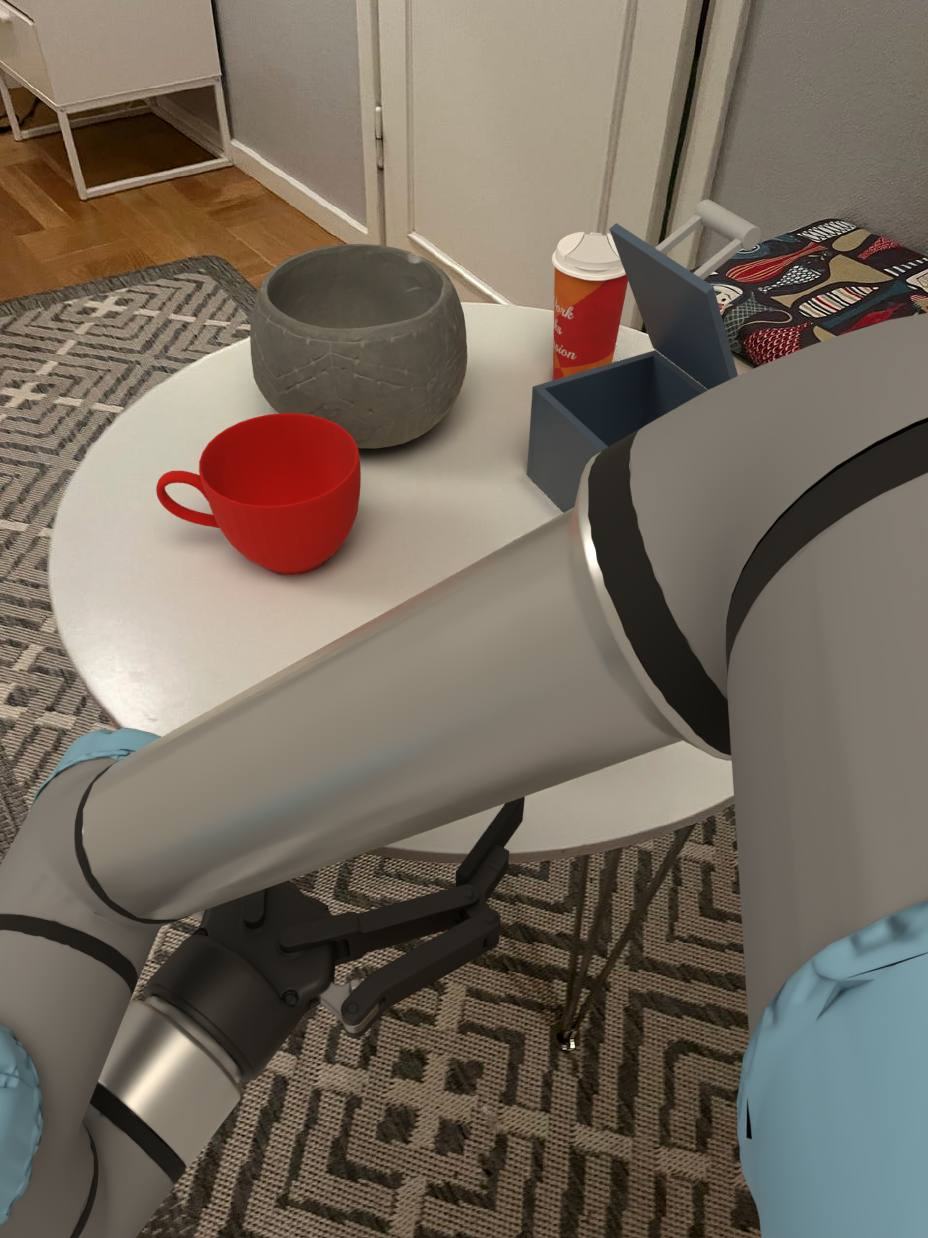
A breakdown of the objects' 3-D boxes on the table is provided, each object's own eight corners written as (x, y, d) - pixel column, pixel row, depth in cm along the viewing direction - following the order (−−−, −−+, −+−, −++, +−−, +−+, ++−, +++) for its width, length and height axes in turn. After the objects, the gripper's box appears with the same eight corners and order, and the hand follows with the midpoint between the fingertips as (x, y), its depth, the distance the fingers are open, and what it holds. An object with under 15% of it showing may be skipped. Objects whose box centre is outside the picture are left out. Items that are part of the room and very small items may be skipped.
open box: (599, 550, 85) (612, 460, 78) (526, 474, 92) (532, 386, 85) (720, 505, 89) (742, 416, 82) (640, 436, 97) (655, 349, 90)
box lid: (705, 293, 71) (786, 227, 70) (608, 228, 78) (681, 168, 78) (740, 414, 82) (810, 358, 82) (652, 348, 90) (716, 296, 89)
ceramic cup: (183, 509, 88) (159, 417, 81) (366, 500, 89) (358, 408, 82) (165, 608, 79) (136, 514, 72) (369, 596, 80) (360, 502, 73)
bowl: (220, 435, 97) (191, 296, 86) (349, 348, 109) (338, 216, 98) (387, 510, 88) (378, 366, 78) (506, 406, 101) (512, 269, 90)
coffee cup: (545, 358, 108) (555, 226, 97) (619, 363, 107) (637, 231, 96) (539, 398, 102) (549, 262, 91) (617, 405, 101) (636, 268, 90)
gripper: (48, 947, 56) (284, 710, 68) (394, 1212, 47) (594, 882, 59) (6, 883, 51) (270, 639, 63) (386, 1168, 41) (608, 815, 54)
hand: (427, 756), depth 61 cm, fingers open, 13 cm apart
